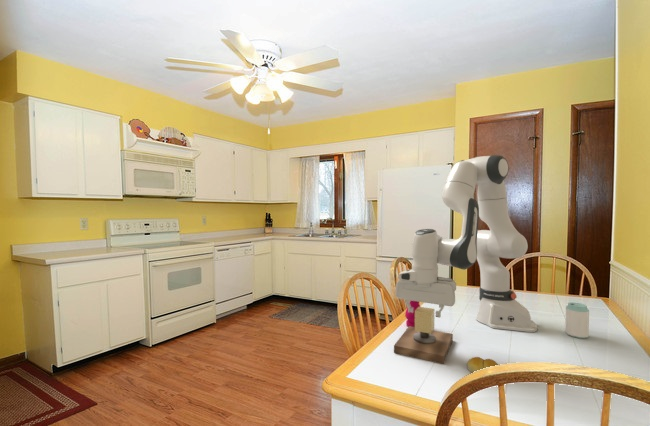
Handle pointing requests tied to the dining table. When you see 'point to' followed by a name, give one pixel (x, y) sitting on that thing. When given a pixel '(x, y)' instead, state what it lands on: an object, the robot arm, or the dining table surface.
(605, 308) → the dining table surface
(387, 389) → the dining table surface
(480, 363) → the bread roll
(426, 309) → the wooden cube block
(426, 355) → the walnut board
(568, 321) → the can
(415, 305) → the pepper mill
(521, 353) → the dining table surface
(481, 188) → the robot arm
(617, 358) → the dining table surface
